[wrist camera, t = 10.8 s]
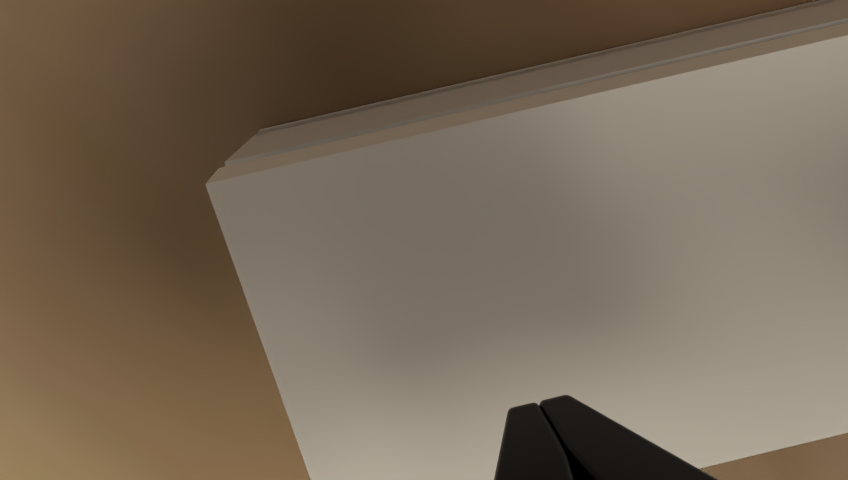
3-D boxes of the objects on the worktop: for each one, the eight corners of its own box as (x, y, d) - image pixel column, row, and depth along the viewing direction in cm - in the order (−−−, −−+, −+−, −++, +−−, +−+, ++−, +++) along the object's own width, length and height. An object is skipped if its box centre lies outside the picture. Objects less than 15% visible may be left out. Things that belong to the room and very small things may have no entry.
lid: (1338, -91, 11) (1430, -100, 10) (1219, 306, 14) (1280, 327, 13) (218, 167, 11) (205, 183, 10) (339, 517, 14) (337, 555, 13)
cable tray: (1068, -58, 15) (1302, -87, 11) (1032, 246, 18) (1213, 304, 14) (260, 129, 15) (223, 162, 11) (345, 409, 17) (339, 514, 14)
